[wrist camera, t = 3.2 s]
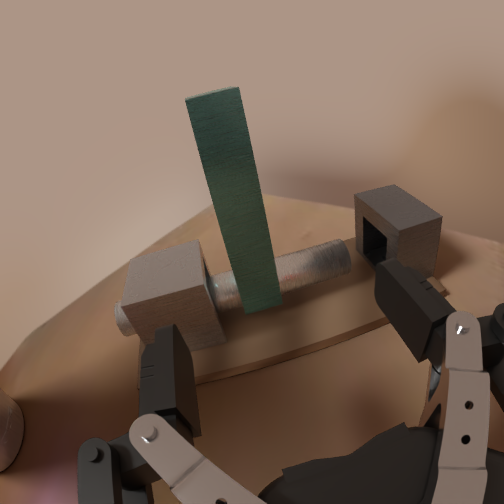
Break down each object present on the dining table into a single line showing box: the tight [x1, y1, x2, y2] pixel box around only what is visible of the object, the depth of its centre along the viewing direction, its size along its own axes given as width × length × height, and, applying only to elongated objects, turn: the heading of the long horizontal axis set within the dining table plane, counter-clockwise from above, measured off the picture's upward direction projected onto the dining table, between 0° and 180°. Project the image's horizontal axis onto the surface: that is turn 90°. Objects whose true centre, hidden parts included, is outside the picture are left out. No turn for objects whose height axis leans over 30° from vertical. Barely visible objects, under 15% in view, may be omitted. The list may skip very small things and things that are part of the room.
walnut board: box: [137, 237, 446, 391], centre depth 26 cm, size 26×11×1 cm, turn 102°
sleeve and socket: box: [121, 185, 442, 352], centre depth 24 cm, size 24×7×6 cm, turn 102°
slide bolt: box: [114, 87, 352, 336], centre depth 20 cm, size 19×3×16 cm, turn 102°
